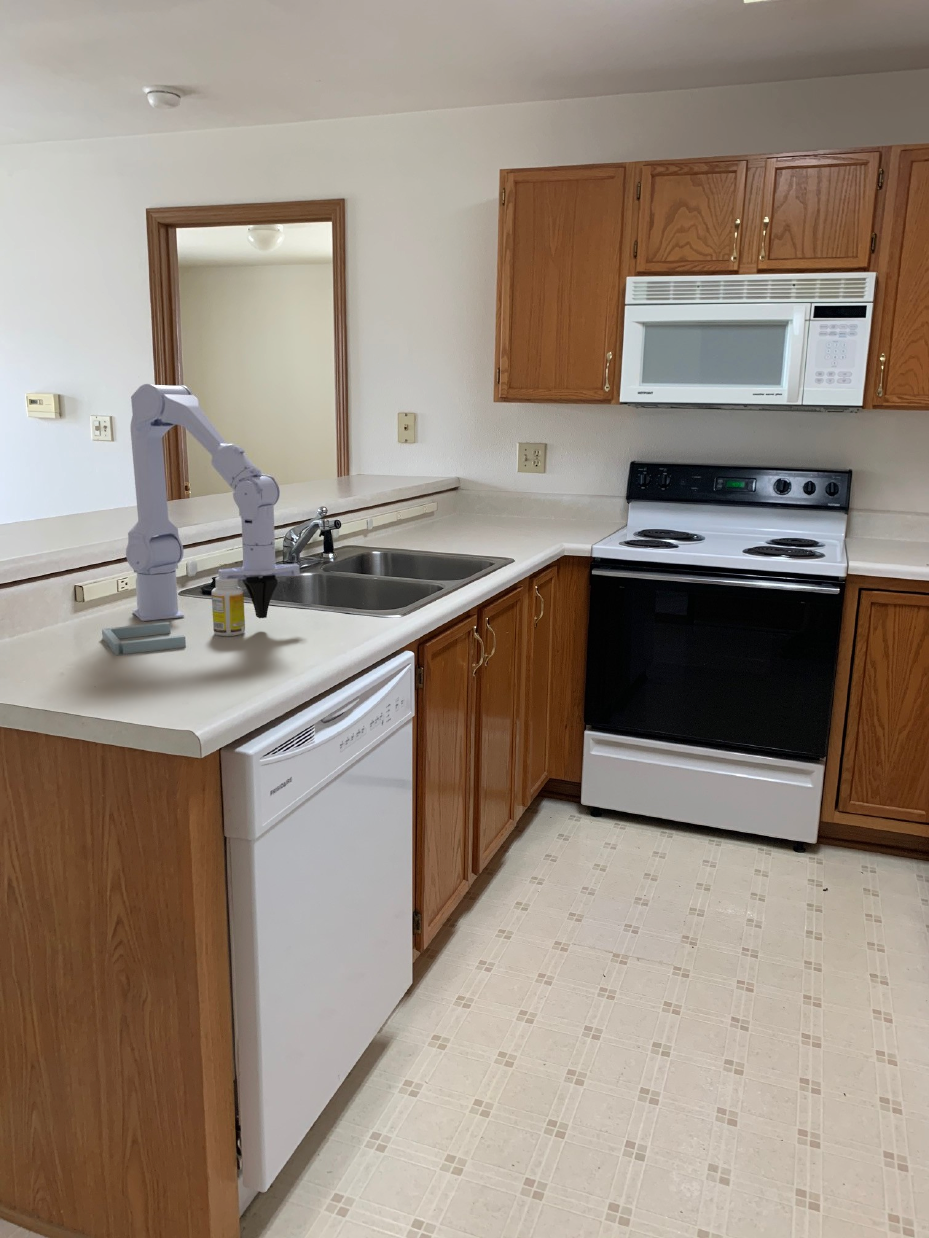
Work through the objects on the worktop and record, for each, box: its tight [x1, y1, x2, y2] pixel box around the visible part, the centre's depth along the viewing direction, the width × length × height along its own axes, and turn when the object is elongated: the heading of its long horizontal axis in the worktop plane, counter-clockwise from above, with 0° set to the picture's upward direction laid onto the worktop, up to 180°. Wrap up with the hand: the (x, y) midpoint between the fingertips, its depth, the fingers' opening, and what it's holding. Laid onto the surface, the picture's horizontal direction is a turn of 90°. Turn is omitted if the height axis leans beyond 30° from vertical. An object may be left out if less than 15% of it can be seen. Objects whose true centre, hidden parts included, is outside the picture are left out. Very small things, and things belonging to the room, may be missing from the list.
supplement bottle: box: [211, 576, 246, 637], centre depth 164 cm, size 6×6×10 cm
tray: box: [101, 621, 187, 656], centre depth 158 cm, size 12×11×2 cm
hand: (261, 617), depth 168 cm, fingers closed
